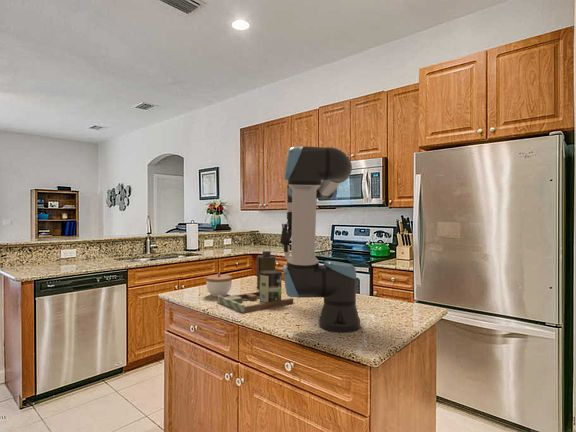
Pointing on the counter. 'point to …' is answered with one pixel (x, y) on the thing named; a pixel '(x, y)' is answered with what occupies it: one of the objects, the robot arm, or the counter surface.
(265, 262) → the canister
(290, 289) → the robot arm
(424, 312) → the counter surface
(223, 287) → the lidded bowl
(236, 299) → the trap lane
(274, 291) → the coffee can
